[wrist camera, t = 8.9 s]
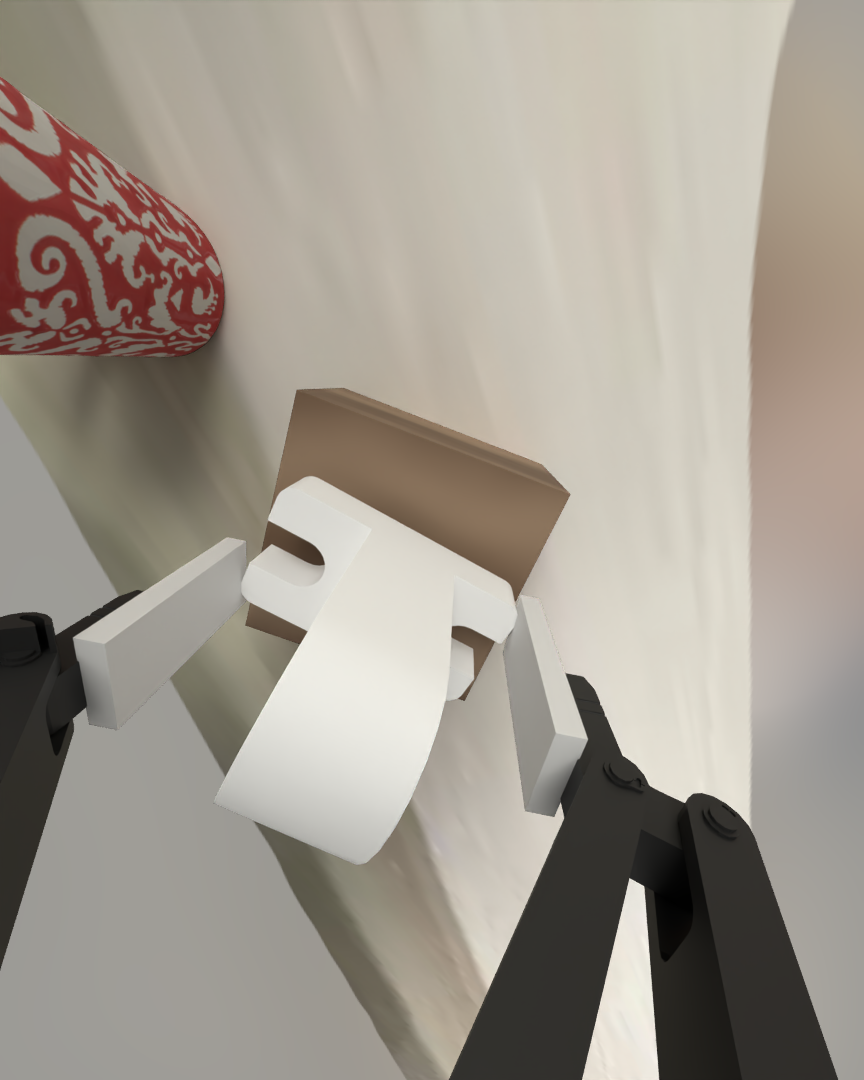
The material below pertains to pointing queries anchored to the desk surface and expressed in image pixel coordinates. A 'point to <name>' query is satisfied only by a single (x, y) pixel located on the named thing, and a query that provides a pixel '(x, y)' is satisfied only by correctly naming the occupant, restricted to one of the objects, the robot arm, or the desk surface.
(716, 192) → the desk surface
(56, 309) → the mug
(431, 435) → the walnut block
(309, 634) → the cable organizer
